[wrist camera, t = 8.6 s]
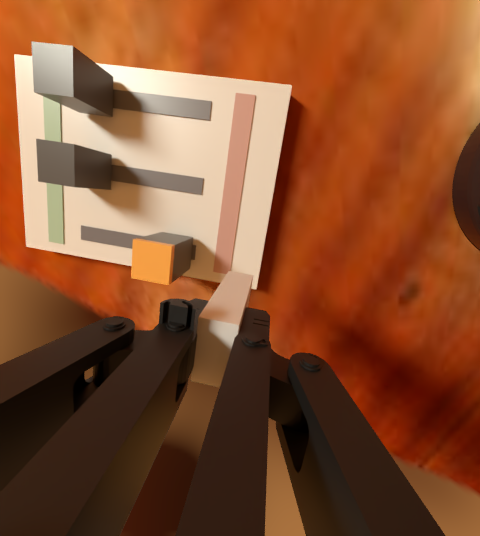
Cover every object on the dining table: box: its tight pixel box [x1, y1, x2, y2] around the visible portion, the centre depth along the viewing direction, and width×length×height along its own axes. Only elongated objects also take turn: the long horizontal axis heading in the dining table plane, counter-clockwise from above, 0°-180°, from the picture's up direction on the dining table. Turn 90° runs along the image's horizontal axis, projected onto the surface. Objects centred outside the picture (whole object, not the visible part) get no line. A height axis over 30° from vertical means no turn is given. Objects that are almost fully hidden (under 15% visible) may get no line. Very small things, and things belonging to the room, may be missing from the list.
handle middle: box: [36, 139, 112, 190], centre depth 22 cm, size 3×3×4 cm
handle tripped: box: [131, 232, 193, 285], centre depth 22 cm, size 3×3×5 cm
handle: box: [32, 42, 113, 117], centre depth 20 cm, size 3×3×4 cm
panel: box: [14, 54, 292, 289], centre depth 25 cm, size 24×17×2 cm
